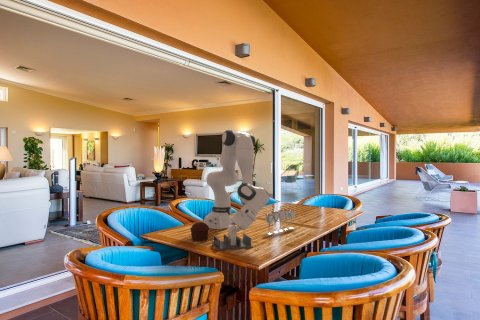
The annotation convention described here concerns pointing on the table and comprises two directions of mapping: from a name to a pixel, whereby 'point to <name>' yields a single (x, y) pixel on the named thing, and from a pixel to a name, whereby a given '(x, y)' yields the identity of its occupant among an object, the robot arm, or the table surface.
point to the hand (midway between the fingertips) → (231, 231)
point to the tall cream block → (232, 234)
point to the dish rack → (227, 245)
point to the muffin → (199, 231)
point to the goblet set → (279, 214)
